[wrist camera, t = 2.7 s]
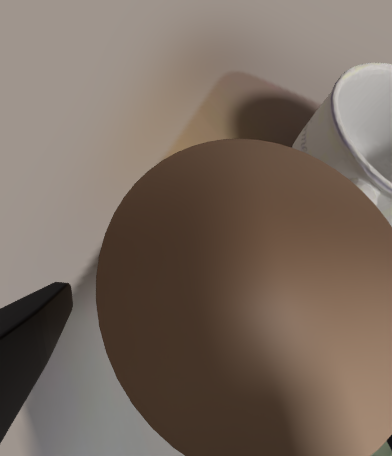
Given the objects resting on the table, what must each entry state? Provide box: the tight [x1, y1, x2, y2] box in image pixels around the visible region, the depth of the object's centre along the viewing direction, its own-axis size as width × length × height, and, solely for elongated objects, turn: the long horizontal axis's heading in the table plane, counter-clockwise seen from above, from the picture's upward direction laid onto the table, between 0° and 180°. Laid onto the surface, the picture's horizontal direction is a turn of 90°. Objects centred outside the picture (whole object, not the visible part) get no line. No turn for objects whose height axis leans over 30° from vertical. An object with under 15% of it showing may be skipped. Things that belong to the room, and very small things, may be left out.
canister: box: [96, 139, 392, 456], centre depth 9 cm, size 5×5×12 cm
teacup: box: [292, 63, 392, 227], centre depth 15 cm, size 14×11×8 cm
